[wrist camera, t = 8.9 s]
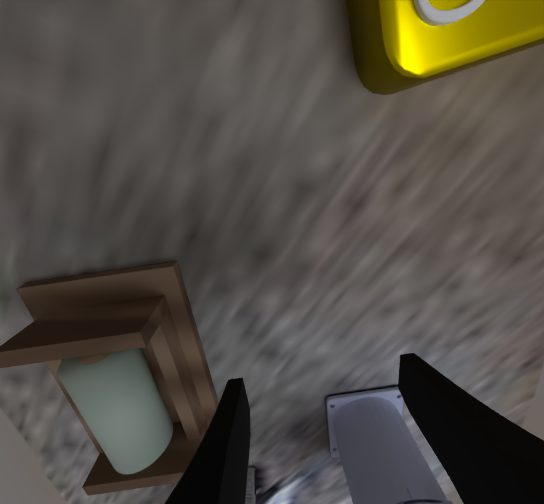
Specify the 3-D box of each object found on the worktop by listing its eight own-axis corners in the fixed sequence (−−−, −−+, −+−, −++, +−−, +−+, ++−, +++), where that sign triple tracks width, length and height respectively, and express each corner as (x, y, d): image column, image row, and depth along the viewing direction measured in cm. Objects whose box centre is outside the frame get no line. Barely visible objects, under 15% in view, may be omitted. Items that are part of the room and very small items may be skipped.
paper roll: (180, 410, 24) (161, 470, 20) (130, 417, 24) (99, 479, 20) (146, 324, 21) (112, 373, 16) (87, 333, 21) (37, 384, 16)
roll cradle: (226, 429, 27) (219, 492, 22) (116, 445, 27) (83, 512, 22) (177, 261, 20) (149, 297, 15) (27, 282, 20) (-53, 326, 15)
